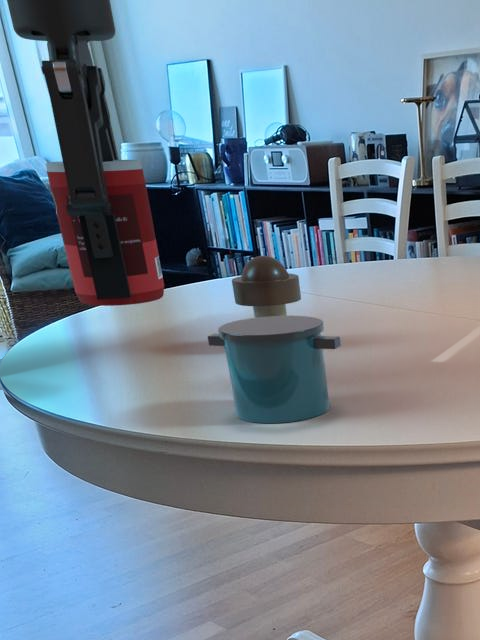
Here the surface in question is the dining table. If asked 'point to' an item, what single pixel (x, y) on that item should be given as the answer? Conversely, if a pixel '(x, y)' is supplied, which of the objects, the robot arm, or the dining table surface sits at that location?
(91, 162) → the robot arm
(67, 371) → the dining table surface
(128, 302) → the canned food
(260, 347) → the enamel pot
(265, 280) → the wooden mushroom
